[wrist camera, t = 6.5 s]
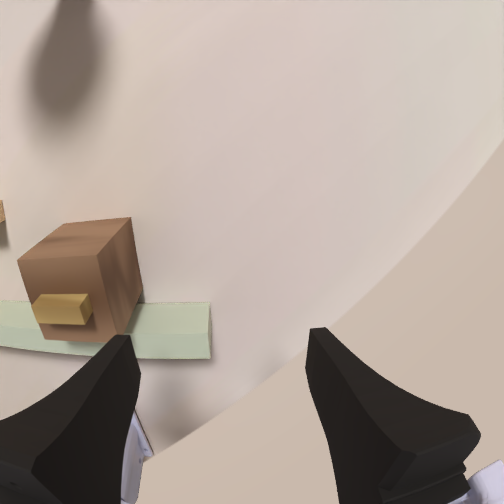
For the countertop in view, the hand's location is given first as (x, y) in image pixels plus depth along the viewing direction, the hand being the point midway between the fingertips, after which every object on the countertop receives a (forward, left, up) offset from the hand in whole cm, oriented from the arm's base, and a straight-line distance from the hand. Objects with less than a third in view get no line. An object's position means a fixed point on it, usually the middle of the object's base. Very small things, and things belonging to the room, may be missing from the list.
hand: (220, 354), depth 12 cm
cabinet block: (0, +8, -10) cm, 12 cm away
